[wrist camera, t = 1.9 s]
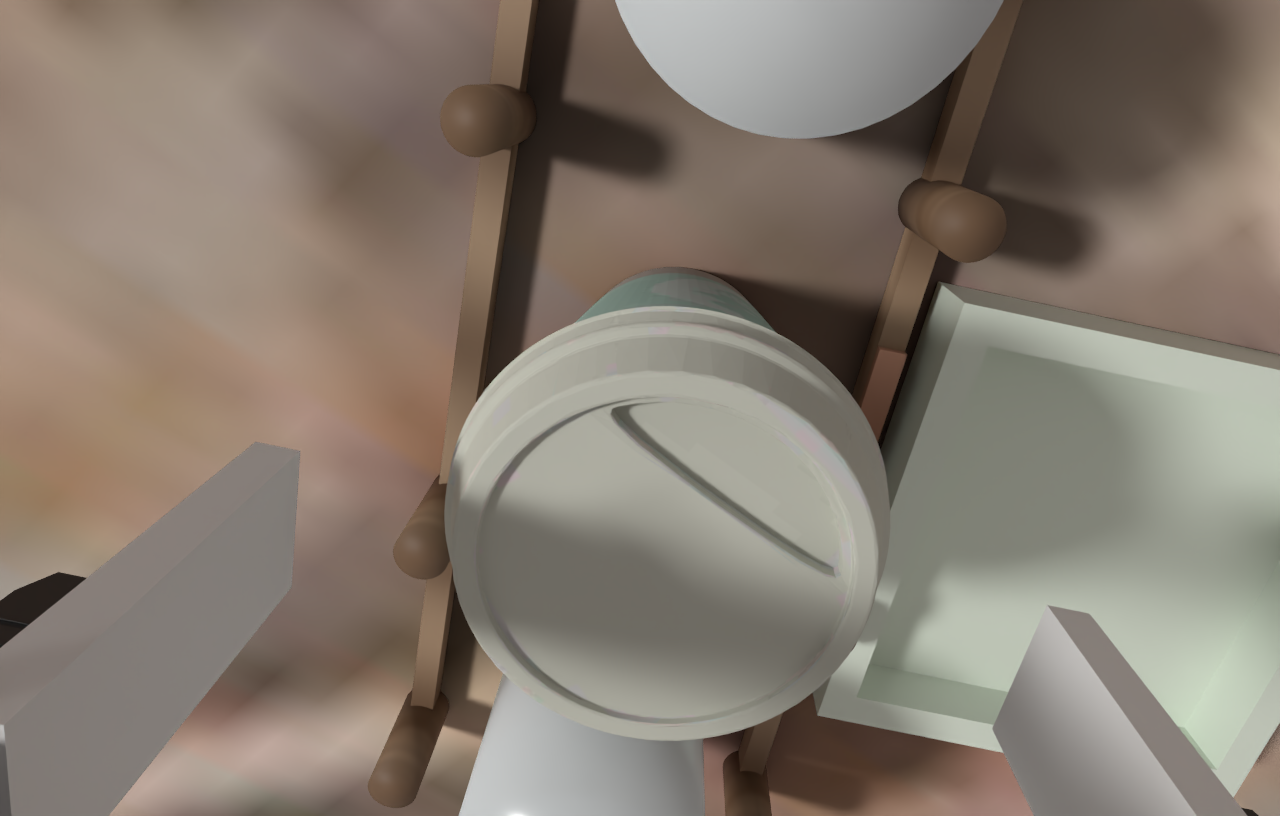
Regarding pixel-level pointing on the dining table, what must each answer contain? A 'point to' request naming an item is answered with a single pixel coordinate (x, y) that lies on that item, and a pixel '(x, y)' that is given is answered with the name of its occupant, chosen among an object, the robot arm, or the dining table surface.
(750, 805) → the rack
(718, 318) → the coffee cup
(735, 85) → the white rounded block
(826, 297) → the dining table surface
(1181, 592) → the tray
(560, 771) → the white rounded capsule
